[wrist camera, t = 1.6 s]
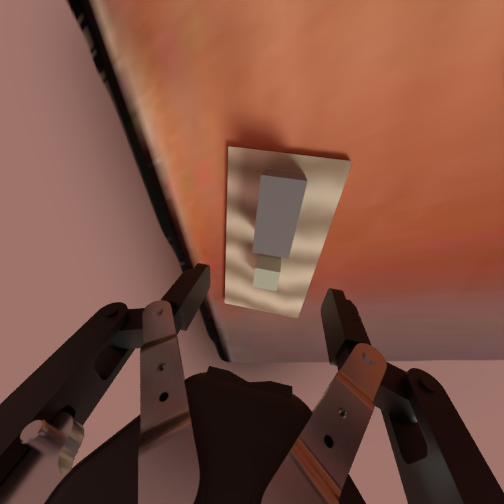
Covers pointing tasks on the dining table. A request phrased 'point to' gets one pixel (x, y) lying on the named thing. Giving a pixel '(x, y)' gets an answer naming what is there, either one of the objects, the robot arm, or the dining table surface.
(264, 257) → the wood offcut
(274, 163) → the plywood board
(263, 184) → the block
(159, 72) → the dining table surface
